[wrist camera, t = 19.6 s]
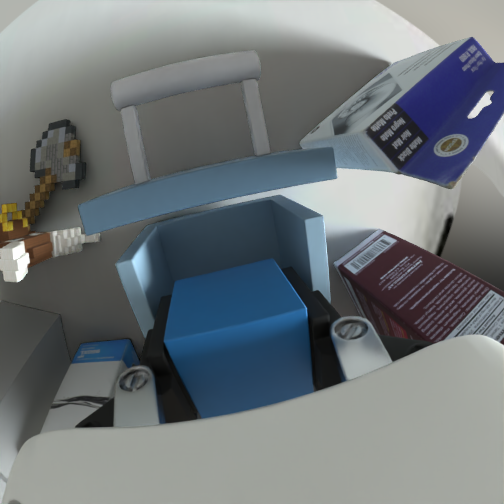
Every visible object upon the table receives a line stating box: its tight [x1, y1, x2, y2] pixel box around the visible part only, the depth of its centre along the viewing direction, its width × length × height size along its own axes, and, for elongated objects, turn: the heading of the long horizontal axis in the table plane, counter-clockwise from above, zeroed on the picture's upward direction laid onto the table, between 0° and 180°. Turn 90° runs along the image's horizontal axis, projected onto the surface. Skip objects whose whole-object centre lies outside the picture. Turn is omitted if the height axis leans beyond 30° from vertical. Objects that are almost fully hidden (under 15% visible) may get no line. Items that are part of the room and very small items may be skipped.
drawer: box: [78, 50, 337, 339], centre depth 13 cm, size 16×9×7 cm, turn 11°
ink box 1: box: [40, 339, 140, 434], centre depth 14 cm, size 8×5×12 cm, turn 7°
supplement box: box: [334, 229, 504, 345], centre depth 13 cm, size 9×5×16 cm, turn 33°
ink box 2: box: [299, 37, 504, 189], centre depth 11 cm, size 12×2×12 cm, turn 133°
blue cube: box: [164, 258, 314, 419], centre depth 10 cm, size 4×4×4 cm
